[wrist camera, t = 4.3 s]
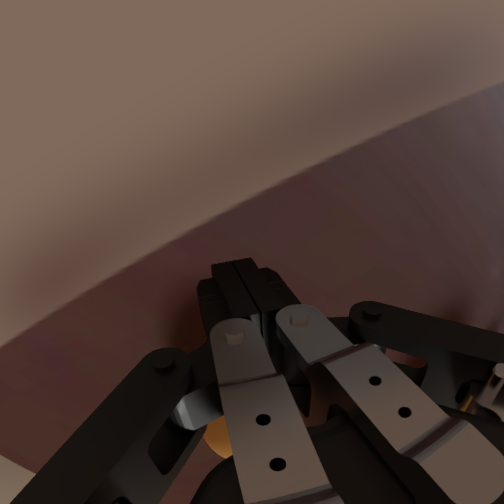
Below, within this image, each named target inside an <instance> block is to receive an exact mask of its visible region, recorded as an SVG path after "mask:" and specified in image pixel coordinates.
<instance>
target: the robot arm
mask: <svg viewBox="0 0 504 504" xmlns="http://www.w3.org/2000/svg"><path fill="white" fill-rule="evenodd" d="M211 271H212V278H209V279H203V280H200V282H199V284H198V286H197V294H198V300H199V305H200V311H201V316H202V322H203V325H204V329H205V333H206V336H207V340H206V342H205V343H204V344H203V345H202V346H201V347H200V348H198V349H197V350H195V351H193V352H191V353H189V354H186V353H185V352H184V351H182V350H180V349H177V348H161V349H157V350H154V351H152V352H150V353H149V354H147V355H146V356H145V357H144V358H143V359H142V360H141V361H140V362H139V363H138V364H137V365H136V366H135V367H134V369H133V370H132V371H131V372H130V373H129V374H128V375H127V376H126V377H125V378H124V379H123V380H122V381H121V383H120V384H119V385H118V386H117V387H116V388H115V389H114V390H113V391H112V392H111V393H110V394H109V396H108V397H107V398H106V399H105V400H104V401H103V402H102V403H101V404H100V405H99V406H98V407H97V409H96V410H95V411H94V412H93V413H92V414H91V415H90V416H89V417H88V418H87V419H86V420H85V422H84V423H83V424H82V425H81V426H80V427H79V428H78V429H77V430H76V431H75V432H74V434H73V435H72V436H71V437H70V438H69V439H68V440H67V441H66V442H65V443H64V444H63V446H62V447H61V448H60V449H59V450H58V451H57V452H56V453H55V454H54V455H53V456H52V458H51V459H50V460H49V461H48V462H47V463H46V464H45V465H44V466H43V467H42V468H41V470H40V471H39V472H38V473H37V474H36V475H35V476H34V477H33V478H32V479H31V481H30V482H29V483H28V484H27V485H26V486H25V487H24V488H23V489H22V491H21V492H20V493H19V494H18V495H17V496H16V497H15V498H14V499H13V501H12V502H11V503H10V504H158V503H159V502H160V500H161V499H162V497H163V496H164V494H165V493H166V491H167V490H168V488H169V487H170V485H171V484H172V482H173V481H174V479H175V478H176V476H177V475H178V473H179V472H180V470H181V469H182V467H183V466H184V464H185V463H186V461H187V460H188V458H189V457H190V455H191V453H192V452H193V450H194V449H195V447H196V446H197V444H198V442H199V441H200V439H201V438H202V436H203V435H204V433H205V431H206V429H207V424H208V423H210V422H212V421H214V420H216V419H217V418H219V417H221V416H223V415H224V416H225V421H226V426H227V430H228V435H229V440H230V444H231V449H232V453H233V455H231V456H229V457H228V458H226V459H225V460H223V461H222V462H221V463H219V464H218V465H217V466H216V467H214V468H213V469H212V470H211V471H210V472H209V473H208V475H207V476H206V477H205V479H204V480H203V481H202V483H201V485H200V486H199V488H198V490H197V492H196V493H195V495H194V497H193V499H192V501H191V502H190V504H504V334H501V333H497V332H493V331H489V330H485V329H481V328H477V327H473V326H469V325H465V324H461V323H457V322H453V321H449V320H445V319H441V318H437V317H433V316H429V315H425V314H421V313H418V312H414V311H410V310H406V309H402V308H398V307H395V306H391V305H387V304H383V303H379V302H375V301H363V302H359V303H357V304H355V305H353V306H352V307H351V309H350V312H349V317H334V318H328V317H325V316H324V315H323V314H322V313H321V312H320V311H319V310H318V309H316V308H315V307H312V306H309V305H304V304H301V303H300V301H299V300H298V299H297V297H296V296H295V295H294V294H293V292H292V291H291V290H290V288H289V287H287V285H286V283H285V282H284V281H283V280H282V278H281V277H280V276H279V274H278V273H277V272H275V271H273V270H271V269H269V268H267V267H266V268H261V269H259V268H258V267H257V265H256V264H255V262H254V261H253V259H252V258H251V257H250V258H245V259H239V260H234V261H229V262H223V263H218V264H212V265H211ZM386 348H389V349H392V350H396V351H399V352H403V353H406V354H410V355H413V356H417V357H420V358H423V359H424V360H425V361H426V362H427V364H426V365H425V366H424V367H422V368H413V367H410V366H406V365H403V364H399V363H396V362H393V361H391V360H390V359H388V358H387V357H386V356H385V352H386ZM274 368H275V369H274ZM275 370H276V371H275ZM276 372H277V373H276Z"/></svg>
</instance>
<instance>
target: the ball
mask: <svg viewBox="0 0 504 504" xmlns="http://www.w3.org/2000/svg"><path fill="white" fill-rule="evenodd" d="M203 437H204V439H205V440H206V442H207V443H208V445H209V446H210V447H211V448H212V449H213V450H214V451H215V452H216V453H217V454H219V455H220V456H222V457H224V458H228V457H229V456H231V455H233V453H232V449H231V444H230V440H229V435H228V430H227V426H226V421H225V416H224V415H223V416H221V417H219V418H217V419H216V420H214V421H212V422H210V423H208V424H207V429H206V431H205V433H204V435H203Z"/></svg>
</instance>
